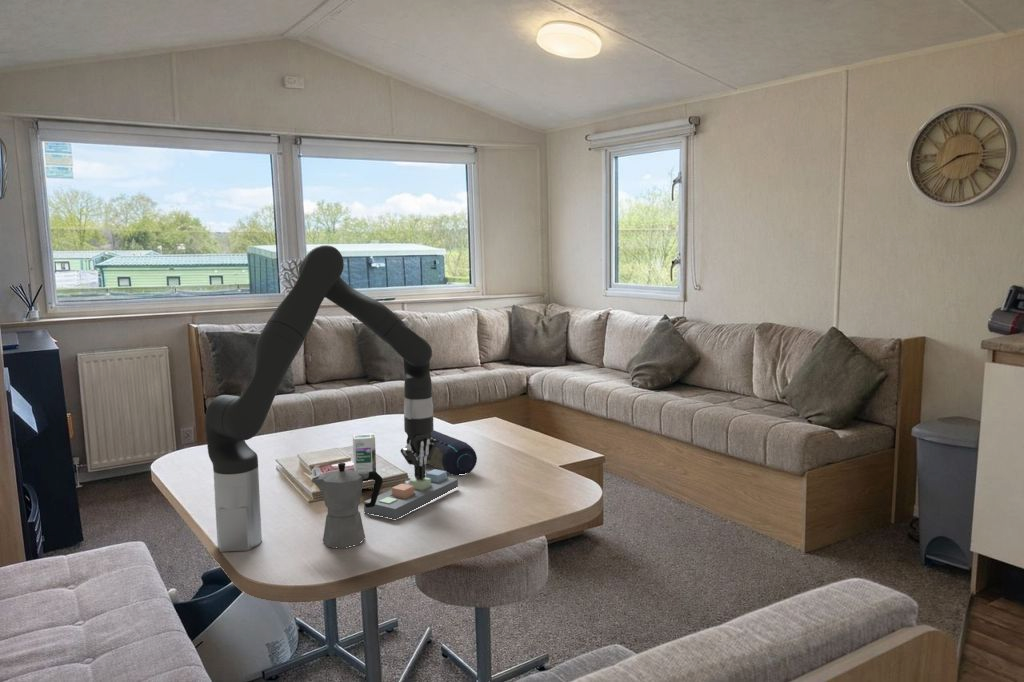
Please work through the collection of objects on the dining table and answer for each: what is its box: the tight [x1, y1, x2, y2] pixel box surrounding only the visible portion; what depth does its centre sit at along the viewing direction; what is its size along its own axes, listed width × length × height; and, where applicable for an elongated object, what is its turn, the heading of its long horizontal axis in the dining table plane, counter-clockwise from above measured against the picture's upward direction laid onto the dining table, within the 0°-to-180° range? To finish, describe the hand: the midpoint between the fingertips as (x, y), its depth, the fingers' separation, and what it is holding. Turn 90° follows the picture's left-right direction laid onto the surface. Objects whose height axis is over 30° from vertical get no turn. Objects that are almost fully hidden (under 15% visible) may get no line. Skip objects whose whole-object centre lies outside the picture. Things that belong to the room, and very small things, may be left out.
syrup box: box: [352, 432, 377, 472], centre depth 196 cm, size 6×6×14 cm
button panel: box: [363, 474, 459, 519], centre depth 186 cm, size 26×10×3 cm, turn 149°
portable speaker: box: [426, 429, 478, 476], centre depth 214 cm, size 25×10×10 cm, turn 37°
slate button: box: [425, 469, 448, 483], centre depth 194 cm, size 4×4×4 cm
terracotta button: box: [391, 483, 414, 499], centre depth 182 cm, size 4×4×4 cm
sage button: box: [408, 477, 431, 491], centre depth 188 cm, size 4×4×4 cm
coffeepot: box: [311, 462, 384, 549], centre depth 160 cm, size 15×9×18 cm, turn 101°
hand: (420, 478), depth 188 cm, fingers closed
